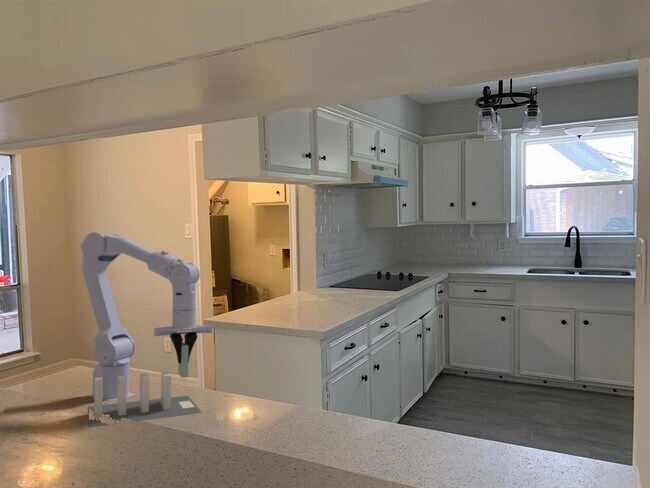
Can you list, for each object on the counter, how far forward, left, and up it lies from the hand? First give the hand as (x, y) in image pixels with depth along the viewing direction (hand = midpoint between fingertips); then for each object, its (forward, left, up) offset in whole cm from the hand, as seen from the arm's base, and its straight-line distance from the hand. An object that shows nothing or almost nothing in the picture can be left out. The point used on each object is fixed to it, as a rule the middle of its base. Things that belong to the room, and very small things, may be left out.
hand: (183, 362), depth 128 cm
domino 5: (0, 0, -3) cm, 3 cm away
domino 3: (0, -11, -9) cm, 15 cm away
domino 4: (+2, -7, -9) cm, 12 cm away
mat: (0, -11, -10) cm, 15 cm away
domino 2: (-3, -16, -9) cm, 18 cm away
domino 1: (-6, -20, -9) cm, 23 cm away
